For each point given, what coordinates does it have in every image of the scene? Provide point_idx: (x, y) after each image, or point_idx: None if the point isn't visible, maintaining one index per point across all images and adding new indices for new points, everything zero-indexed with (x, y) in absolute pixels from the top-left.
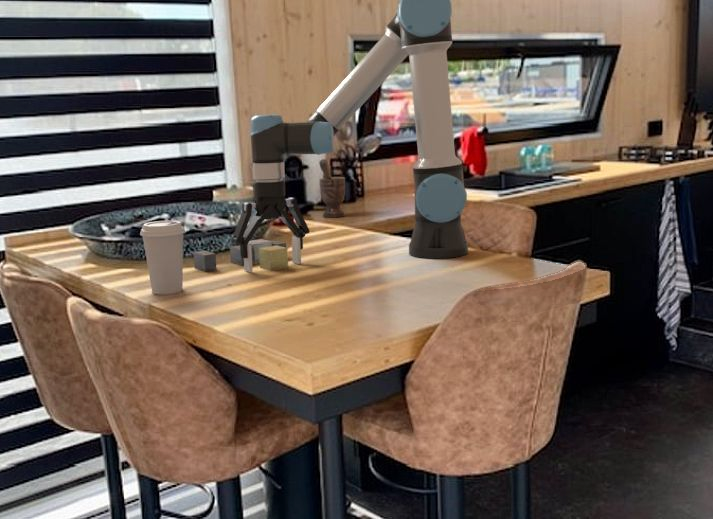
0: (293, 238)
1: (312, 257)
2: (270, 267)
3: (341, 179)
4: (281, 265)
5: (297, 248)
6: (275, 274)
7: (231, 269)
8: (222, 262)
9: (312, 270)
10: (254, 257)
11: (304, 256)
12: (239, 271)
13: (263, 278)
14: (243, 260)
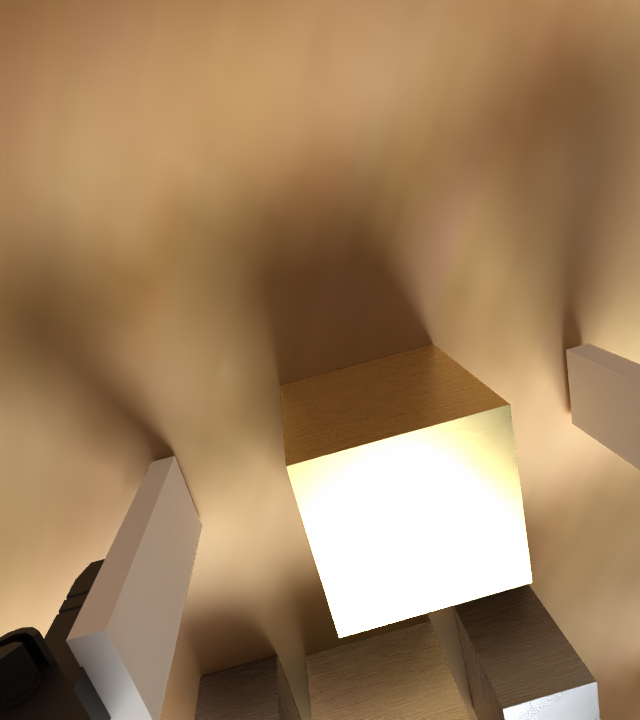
0: (147, 684)
1: None
2: (440, 351)
3: None
4: (341, 377)
5: (145, 542)
6: (449, 187)
7: (624, 509)
8: None
9: (117, 173)
10: (444, 657)
11: None
12: None
13: (587, 80)
14: (532, 612)
